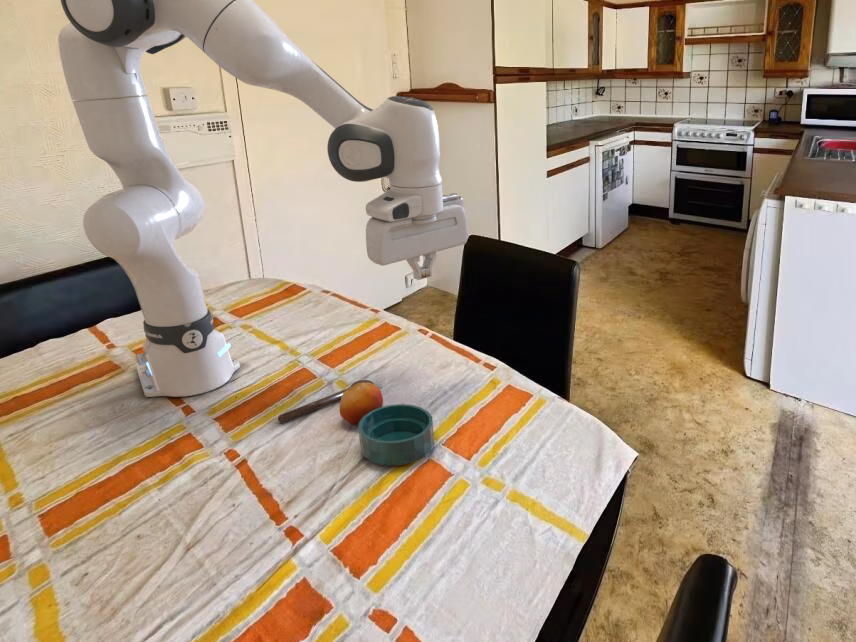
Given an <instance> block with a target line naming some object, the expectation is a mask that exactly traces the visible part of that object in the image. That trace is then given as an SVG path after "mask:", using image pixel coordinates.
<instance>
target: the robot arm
mask: <svg viewBox="0 0 856 642" xmlns="http://www.w3.org/2000/svg"><path fill="white" fill-rule="evenodd" d="M60 4H61V6H62V9H63V12H64V14H65V16H66V17H67V20H68V21H69V23H67V24H65V25H64V26H63V27H62V28H61V29H60V31H59V33H58V37H57V42H58V43H57V44H58V49H59V56H60V61H61V67H62V71H63V75H64V79H65V83H66V86H67V89H68V92H69V95H70V99H71V101H72V104H73V107H74V110H75V113H76V115H77V118H78V121H79V125H80V127H81V131H82V134H83V136H84V139H85V141H86V144H87V147H88V148H89V150H90V152H91V153H92V154H93V155H94V156H95V157H97V158H99V159H100V160H102V161H104V162H105V163H106V164H107V165H108V166H109V167H110V168H111V169H112V171H113V172H114V173H115V175H116V176H117V178H118V180H119V181H120V184H121V185H122V188H121V189H118V190H115V191H113V192H109V193H107V194H105V195H103V196H102V197H100V198H99V199H98V200H96V201H95V202H94V203H93V204H91V205H90V206H89V207H88V208H87V209H86V211H85V212H84V215H83V220H82V226H83V230H84V233H85V235H86V238H87V239H88V241H89V242H90V244H91V245H92V246H93V247H94V248H95V249H96V250H97V251H98V252H99V253H100V254H103V255H104V256H106V257H108V258H111V259H113V260H114V261H115V262H116V263H117V264H118V265H119V266H120V267H121V268H122V270H123V271H124V273H125V274H126V276H127V277H128V279H129V281H130V282H131V285H132V287H133V289H134V291H135V294H136V298H137V300H138V303H139V306H140V309H141V313H142V316H143V318H144V319H143V321H142V323H143V332H144V335H145V341H144V342H143V344H142V346H141V348H142V351H143V352H142V353H137V354H135V358H136V362H137V364H136V372H137V375H138V379H139V382H140V385H141V389H142V391H143V395H144V397H146V398H155V397H174V398H181V397H192V396H197V395H200V394H205V393H208V392H210V391H213V390H216V389H217V388H220V387H222V386H223V385H225V384H226V383H227V382H229V381H230V380H231V379H232V377H233V374H234V372H236V371H237V370H239V369H240V368H241V364H240V362H239V361H238V360H237V359H233V358H232V357H231V354H230V351H229V349H230V348H231V347H232V345H231V343H230V342H228V343H227V342H226V341H227V340H226V338H225V335H224V333H222V332H220V331H219V330H216V329H215V324H214V318H213V316H212V313H211V310H210V309H208V307H207V303H206V298H205V294H204V291H203V287H202V283H201V279H200V276H199V273H198V272H197V271H196V270H195V269H194V268H193V267H190V266H188V265H186V264H185V262H183V260H182V258H181V256H180V255H179V253H178V251H177V249H176V245H175V241H176V240H178V239H180V238H183V237H185V236H187V235H188V234H190V233H191V232H192V231H193V230H194V229H195V228H196V227H197V226H198V225H199V224H200V222H201V221H202V220H203V218H204V216H205V213H206V212H205V211H206V205H205V201H204V198H203V196H202V193H200V191H199V189H198V188H197V187H196V186H195V185H194V184H193V183H191V182H190V181H189V180H187V179H185V177H184V176H183V175H182V174H181V172H180V171H179V169H178V167H177V166H176V164H175V163H174V161H173V159H172V158H171V155H170V154H169V152H168V149H167V148H166V146H165V143H164V141H163V138H162V135H161V132H160V130H159V129H160V128H159V126H158V123H157V120H156V116H155V114H154V113H155V112H154V110H153V107H152V104H151V101H150V97H149V94H148V90H147V88H146V84H145V82H144V78H143V75H142V70H141V60H142V57H143V55H144V54H145V53H147V54H150V55H156V54H157V53H159V52H161V51H163V50H165V49H167V48H170V47H173V46H175V45H177V44H178V43H180V42H181V41H183V40H184V39H185V38H187V39H189V41H191V42H192V43H193V44H194V45H195V46H196V47H197V48H198V49H199V50H201V51H202V53H204V54H205V55H206V56H207V57H208V58H209V59H210V60H211V61H213V62H214V63H215V64H216V66H218V67H220V68H221V69H222V70H223V71H225V72H226V73H228V74H230V75H231V76H232V77H234V78H235V79H237V80H239V81H241V82H242V83H244V84H246V85H249V86H254V87H258V88H263V89H269V90H273V91H277V92H281V93H283V94H287V95H289V96H292V97H293V98H296V99H298V100H299V101H301V102H302V103H304V104H305V105H306V106H308V107H309V108H310V109H311V110H312V111H314V112H315V113H316V114H317V115H318V116H319V117H320V118H322V119H323V120H324V121H325V122H327V123H328V124H329V125H330V126H331V127H333V128H334V129H333V130H332V132H331V133H330V135H329V137H328V140H327V157H328V159H329V162H330V164H331V166H332V168H333V169H334V171H335V172H336V173H337V174H338V175H339V176H341V177H342V178H343V179H346V180H348V181H350V182H354V183H355V182H356V183H366V182H369V181H372V180H378V179H381V178H386V179H388V181H389V189H388V190H386V191H385V192H383V193H382V194H380V195H379V196H377V197H375V198H374V199H372V200H370V201H369V202H368V203H366V204H365V213H366V215H367V216H368V217H370V218H369V219H368V221H367V222H366V226H365V244H366V245H365V246H366V255H367V258H368V259H369V260H370V261H371V262H372V263H373V264H375V265H379V266H382V267H383V266H387V265H391V264H396V263H399V262H402V261H406V262H407V264H408V265H409V266H410V268H411V269H412V276H413V279H414V280H416V281H421V280H423V279H427V278H431V277H432V276H433V269H432V268H433V266H434V264H435V261H436V259H437V252H440V251H444V250H448V249H451V248H455V247H459V246H464V245H466V244H467V242H468V239H469V227H468V221H467V216H466V211H465V201H464V198H463V197H462V196H461V195H458V193H455V192H454V193H450V194H444V193H443V179H442V175H441V172H440V161H441V141H440V132H439V131H440V130H439V125H438V124H439V123H438V119H437V116H436V112H435V110H434V108H433V107H432V106H431V105H430V104H429V103H428V102H426V101H425V100H422V99H419V98H415V97H411V96H410V97H409V96H401V95H393V96H389V97H387V98H385V101H383V103H381V104H379V105H378V106H377V107H376V108H370V107H368V106H366V105H365V104H364V103H362V102H361V101H359V100H358V99H357V98H356V97H354V96H353V95H352V94H351V93H350V92H349V91H347V90H346V89H345V88H344V87H343V86H342V85H341V84H340V83H338V82H337V81H336V80H335V79H334V78H333V77H332V76H331V75H329V73H327V72H326V71H325V70H323V68H321V67H320V66H319V65H318V64H317V63H315V62H314V61H313V60H312V59H311V58H310V57H309V56H308V55H307V54H306V52H304V51H303V50H302V49H301V47H299V46H298V45H297V44H296V43H295V42H294V41H293V39H291V37H289V36H288V35H287V34H286V32H284V31H283V30H282V28H281V27H280V26H279V25H278V24H277V23H276V22H275V21H274V19H272V18H271V17H270V15H268V13H266V12H265V10H263V8H261V6H259V5H258V3H256V2H255V0H60ZM421 256H423V257H424V259H423V264H422V266H420V264H419V262H421Z"/></svg>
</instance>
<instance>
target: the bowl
mask: <svg viewBox="0 0 856 642" xmlns="http://www.w3.org/2000/svg"><path fill="white" fill-rule="evenodd" d="M433 419H434V418H433V416H432V414H431V413H430V412H429V410H427V409H425V408H423V407H421V406H417V405H414V404H405V403H397V404H396V403H395V404H387V405H385V406H384V405H383V407H380V408H377V409H375V410H373V411H370V412H369V413H368V414H366V415H365V416H363V418H362V419H361V420H360V422H359V425H357V426H358V427H357V431H358V437H359V444H360V450H361V451H360V452H361V453H362V456H363V457H364V458H366V460H368V461H370V462H371V463H374V464H378V465H382V466H391V467H392V466H393V467H395V466H404V465H409V464H411V463H415V462H417V461H419V460H422V459H423V458H425V457H426V456H427V455H429V453H430V452H431V451H432V450H433V448H434V445H435V433H434V420H433Z"/></svg>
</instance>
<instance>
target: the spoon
mask: <svg viewBox="0 0 856 642" xmlns="http://www.w3.org/2000/svg"><path fill="white" fill-rule="evenodd" d="M367 382H369V383H372V384H374V382H373V381H372V380H368V379H361V380H356V381H354V382H353V383H351V385H350V387H347V388H345V389H343V390H340V391H337V392H334V393H332V394H329V395H327V396H325V397H321V398H319V399H317V400H314V401H312V402H309V403H306V404H304V405H302V406H299V407H296V408H294V409H292V410H289V411H286V412H284V413H281V414H279V415H278V417H277V421H278V422H279V423H280V424H285V423H288V422H289V421H290V422H291V421H292V420H294V419H297V418H299V417H302V416H304V415H307V414H310V413H312V412H315V411H317V410H320V409H322V408H324V407H327V406H329V405H332V404H334V403H336V402H337V403H338V402H340V401H341V397H342V394H343V393H344V392H345V391H346V390H348V389H350V388H351V387H353V386H354V385H356V384H358V383H367Z"/></svg>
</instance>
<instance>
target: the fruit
mask: <svg viewBox="0 0 856 642" xmlns="http://www.w3.org/2000/svg"><path fill="white" fill-rule="evenodd" d="M349 388H350V389H348V390H346V391H345V392H344V393H343V394H342V397H341V400H340V401H339V414H340V417H341V418H342V419H343V420H345V422H347V423H348V424H350V425H353V426H359V422H360V420H361V419H362V418H363V416H365V415H366V414H368V413H369V412H370V411H373V410H375V409H377V408H380V407H384V397H383V394H382V391H381V389H380V388H379V387H378V386H377V385H375V384H374V383H373V384H372V383H369V382H367V383H358V384H356V385H354V386H353V387H351V386H350V387H349Z"/></svg>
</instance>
